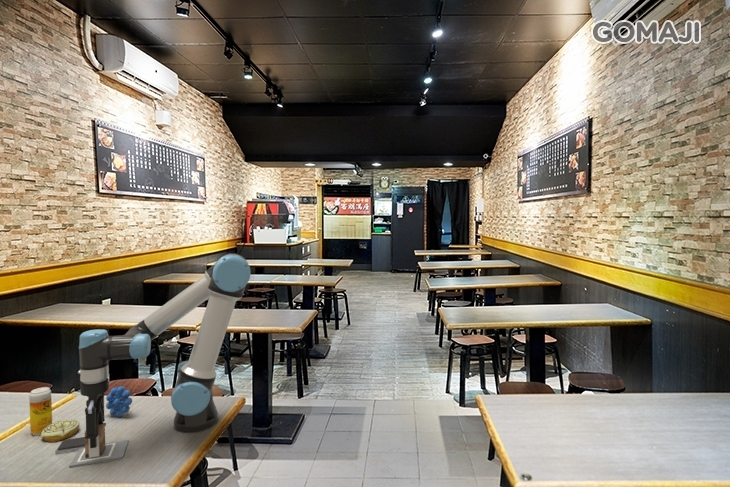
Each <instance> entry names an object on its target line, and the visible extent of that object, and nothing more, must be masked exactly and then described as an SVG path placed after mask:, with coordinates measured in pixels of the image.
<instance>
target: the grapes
mask: <svg viewBox="0 0 730 487" xmlns="http://www.w3.org/2000/svg"><path fill="white" fill-rule="evenodd" d="M130 396H131V391H130V390H129V389H126V388H125V386H123V385H120V386H118V387H117V386H115V387H112V389H111V390H110V392H109V393H108V394H107V395H106V397H105V399H106V401H107V403H105V409H107V410H109V414H110V416H116V417H118V418H121V417H122V416H123V415H124V414H127V413H128V412H129V411H130V408H131V407H130V406H131V405H132V404H133V399H132V398H131V397H130Z"/></svg>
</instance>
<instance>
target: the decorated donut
mask: <svg viewBox="0 0 730 487" xmlns="http://www.w3.org/2000/svg"><path fill="white" fill-rule="evenodd" d="M79 429H80V422H79V420H76V419H65V420H64V419H63V420H57V421H55V422H52V424H50V425H48V426H47V427H46V428H44V429H43V431H42V433H41V435H40V438H41V439H43V440H44V441H46V442H48V443H49V442H50V443H55V442H59V441H63V440H66V439H69V438H70V437H72V436H73V435H75V434H76V433H77V432H78V431H79Z"/></svg>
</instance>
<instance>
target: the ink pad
mask: <svg viewBox="0 0 730 487" xmlns="http://www.w3.org/2000/svg"><path fill="white" fill-rule="evenodd" d="M80 448H85V436H80V437H74V438H66V439H63V440H61V442H60V443H59V445H58V446H57V448H56V450H55V451H54V452H55V453H54V454H55V455H61V454H65V453H67V454H68V453H72V452H78V450H79V449H80Z"/></svg>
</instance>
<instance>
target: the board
mask: <svg viewBox="0 0 730 487" xmlns="http://www.w3.org/2000/svg"><path fill="white" fill-rule="evenodd" d="M129 443H130V440H129V439H126V440H120V441H119V440H118V441H112V442H107V443H106V442H105V450H104V452H103V455H100V456H98V457H92V458H85V448H80V449H79V450H78V451H76V454H75V455H74V457H73V459H72V461H71V462H70V464H69V466H68V467H69V468H76V467H83V466H87V465H88V466H89V465H92V464H99V463H105V462H110V461H116V460H122V459H123V458H124V456H125V453H126V451H127V449H128V445H129Z"/></svg>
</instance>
